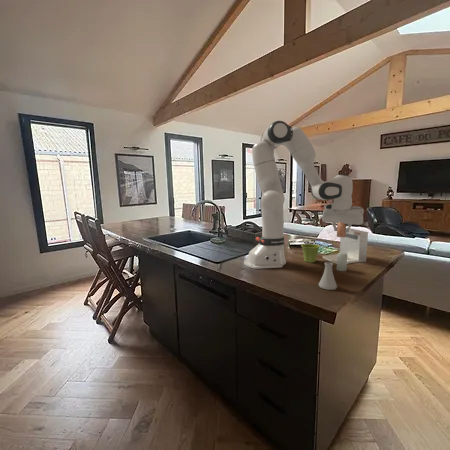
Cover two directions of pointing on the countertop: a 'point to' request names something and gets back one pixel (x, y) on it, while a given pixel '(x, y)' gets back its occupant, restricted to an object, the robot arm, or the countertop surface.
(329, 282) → the flask
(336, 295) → the countertop surface
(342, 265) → the sage part
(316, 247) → the plant pot
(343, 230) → the terracotta part
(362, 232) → the service unit
